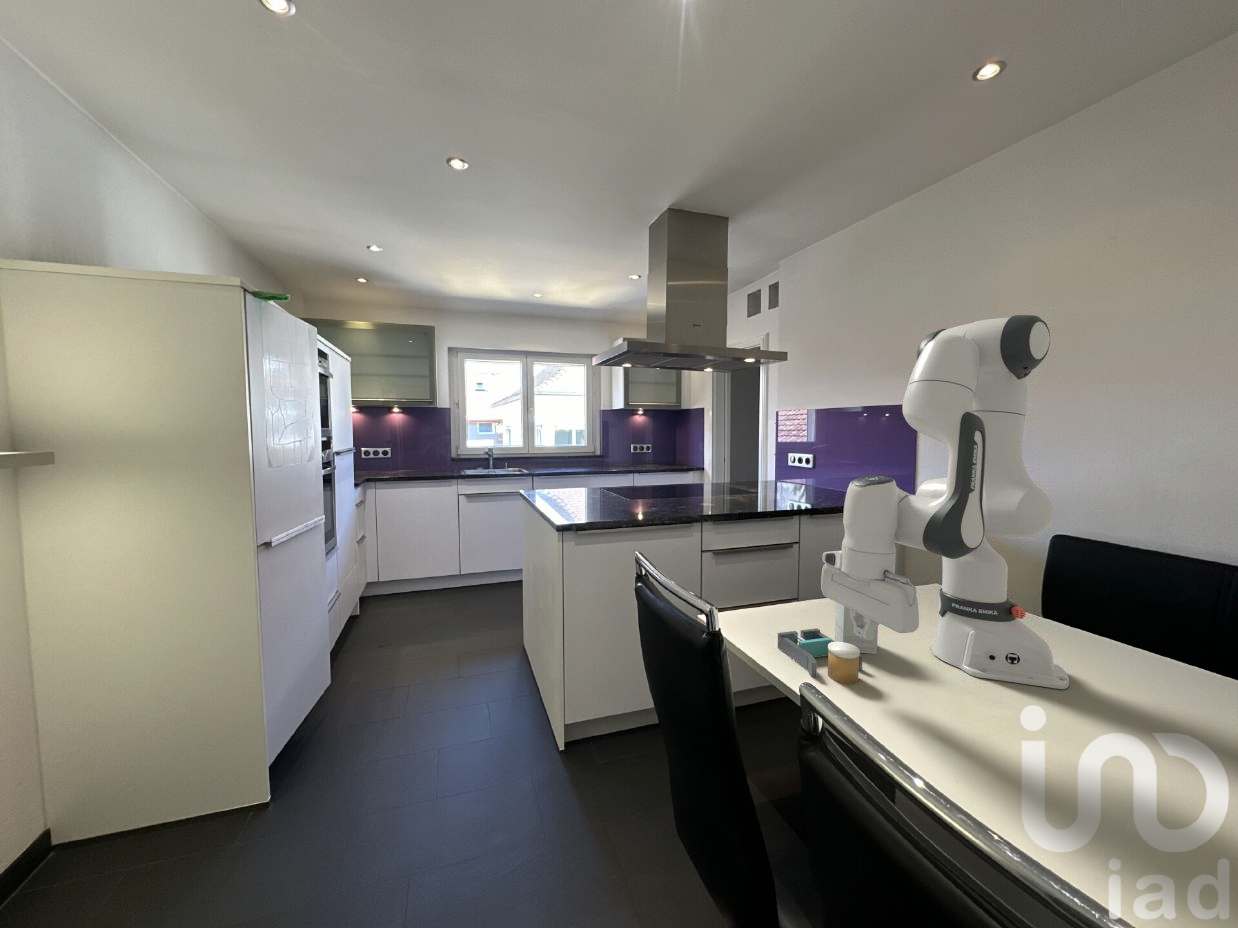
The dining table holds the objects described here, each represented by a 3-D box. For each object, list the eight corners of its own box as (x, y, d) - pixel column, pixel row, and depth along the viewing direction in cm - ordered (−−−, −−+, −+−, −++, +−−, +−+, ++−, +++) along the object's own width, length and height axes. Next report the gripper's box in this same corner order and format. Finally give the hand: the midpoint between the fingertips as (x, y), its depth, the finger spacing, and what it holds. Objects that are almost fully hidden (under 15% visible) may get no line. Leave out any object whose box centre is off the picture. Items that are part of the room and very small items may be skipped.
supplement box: (878, 654, 103) (879, 598, 102) (842, 651, 104) (843, 596, 103) (867, 640, 110) (868, 587, 109) (833, 637, 111) (835, 585, 111)
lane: (863, 670, 96) (863, 653, 95) (812, 677, 93) (812, 660, 92) (820, 642, 109) (820, 627, 108) (774, 648, 106) (774, 633, 105)
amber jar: (859, 674, 94) (860, 645, 94) (857, 687, 89) (858, 657, 89) (829, 667, 97) (829, 639, 97) (825, 679, 92) (826, 650, 92)
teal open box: (830, 654, 102) (831, 639, 101) (801, 658, 100) (801, 643, 100) (808, 640, 109) (809, 625, 109) (780, 643, 107) (781, 629, 107)
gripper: (931, 579, 77) (926, 661, 77) (842, 550, 96) (839, 615, 97) (900, 581, 75) (895, 664, 76) (816, 551, 95) (813, 617, 96)
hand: (863, 636), depth 87 cm, fingers closed
